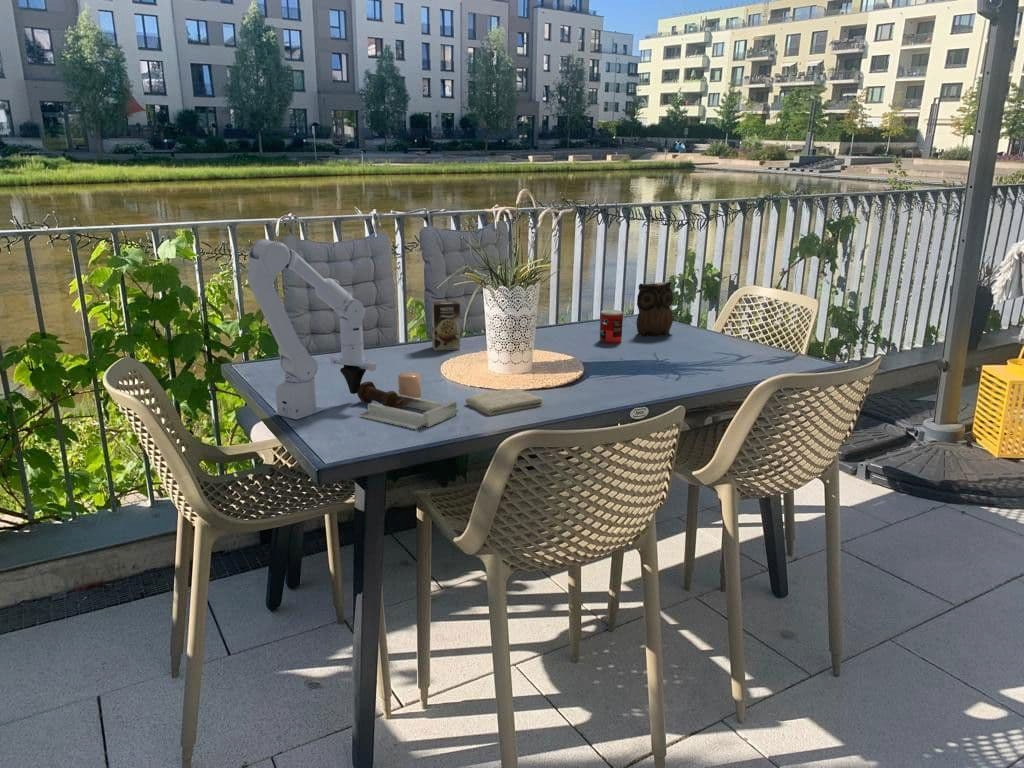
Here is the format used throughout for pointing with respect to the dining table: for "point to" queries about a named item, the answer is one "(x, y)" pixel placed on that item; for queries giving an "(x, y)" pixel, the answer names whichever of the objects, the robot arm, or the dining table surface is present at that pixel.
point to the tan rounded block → (409, 384)
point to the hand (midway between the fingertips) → (354, 392)
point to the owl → (654, 309)
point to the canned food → (611, 326)
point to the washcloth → (503, 401)
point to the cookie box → (446, 325)
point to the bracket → (411, 419)
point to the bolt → (379, 396)
